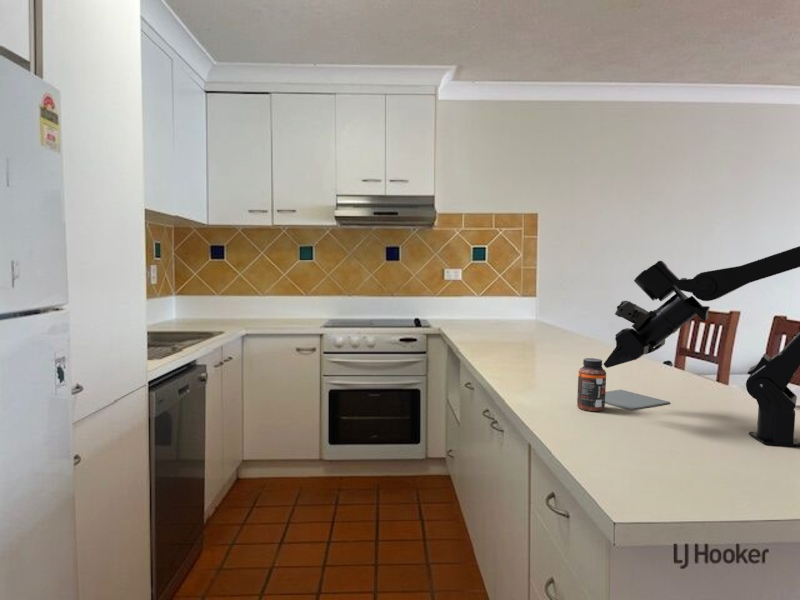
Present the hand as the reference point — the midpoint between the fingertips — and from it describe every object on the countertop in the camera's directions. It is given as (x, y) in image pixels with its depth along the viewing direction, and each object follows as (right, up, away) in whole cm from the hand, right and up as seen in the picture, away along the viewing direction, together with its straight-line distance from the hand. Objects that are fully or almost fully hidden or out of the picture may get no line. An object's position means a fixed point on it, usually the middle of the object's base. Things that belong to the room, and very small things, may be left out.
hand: (611, 363), depth 121 cm
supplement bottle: (-3, -11, +3) cm, 12 cm away
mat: (+8, -10, +12) cm, 17 cm away
